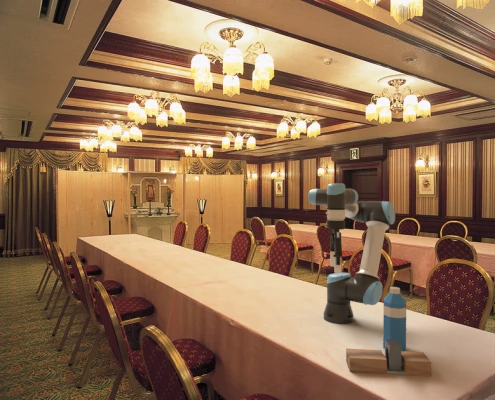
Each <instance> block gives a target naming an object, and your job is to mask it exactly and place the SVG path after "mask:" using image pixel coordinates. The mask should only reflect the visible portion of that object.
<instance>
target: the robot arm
mask: <svg viewBox="0 0 495 400" xmlns="http://www.w3.org/2000/svg"><path fill="white" fill-rule="evenodd" d="M326 187H327V188H313V189H311V190H309V192H308V196H307V200H308V202H309V203H310V205H313V206H322V207H324V208H326V210H327V211H325V214H326V219H327V220H326V228H327V229H328V230H330V235H329V236H330V243H329V251H330V253H329V255H330V256H329V257H330V258H329V260H330V261H329V266H330V267H333V269H334V271H333V272H334V273H329V274H328V276H327V277H326V278H327V280H326V296H327V297H326V304H325V308H324V310H323V319H324V320H326V321H327V322H331V323H333V324H334V323H335V324H349V323H353V322H354V320H355V315H354V312H353V308H352V306H351V302H353V303H359V304H363V305H365V306H366V305H370V306H375V305H377V304H378V303H379V302H380V300H381V298H382V295H383V288H384V287H383V283H382V282H381V281H380V280H381V279H380V277H379V276H378V273H379V266H380V262H381V256H382V252H383V251H382V250H383V245H384V240H385V234H386V231H388V230H389V229H390V225H394V224H395V222H396V211H395V207H394V205H393V203H392V202H391V201H386V200H385V201H384V200H382V201H381V200H378V201H377V200H375V201H374V200H373V201H372V200H368V201H367V200H359V193H358V192H357V190H355V189H353V188H346V185H345V183H329V184H327V186H326ZM358 200H359V201H358ZM346 218H348V219H351V220H353V221H356V222H359V223H365V225H366V227H367V230H366V236H365V242H364V246H363V251H362V256H361V260H360V261H361V262H360V265H359V266H360V267H359V271H357V272H355V274H354V276H353V277H352V275H351V273H350V272H349V273H348V272H342V257H343V249H342V248H343V246H342V232H340V230H344V229H345V228H346V221H345V219H346Z"/></svg>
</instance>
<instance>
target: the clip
mask: <svg viewBox="0 0 495 400" xmlns="http://www.w3.org/2000/svg"><path fill="white" fill-rule="evenodd" d="M384 356H385V358H386V359H387V364H388V370H389V371H396V372H401V346H400V344H399V343H398V341H397V340H395V339H385V349H384Z"/></svg>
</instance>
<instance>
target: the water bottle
mask: <svg viewBox="0 0 495 400" xmlns="http://www.w3.org/2000/svg"><path fill="white" fill-rule="evenodd" d="M382 328H383V329H382V331H383V335H382V336H383V337H382V339H383V342H382V344H383V345H382V347H383V349H384V350H385V339H395V340H397V341H398V343H399V344H400V346H401V351H407V301H406V300H405V297H404V296H403V295H402V293H401V288H400V287H397V286H389V293H387V295H386V296H385V297H384V298H383V327H382Z"/></svg>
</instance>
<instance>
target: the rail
mask: <svg viewBox="0 0 495 400" xmlns="http://www.w3.org/2000/svg"><path fill="white" fill-rule="evenodd" d="M345 350H346V351H345V357H346V358H345V362H346V365H347V368H348V370H349V372H350V373H364V374H365V373H367V374H382V375H383V374H385V375H401V376H402V375H403V376H421V377H432V375H433V374H432V372H433V371H432V366H433V365H432V363H433V362H432V361H431V359H429V357H428V356H427V355H426V354H425V353H424V352H423V351H407V350H406V351H401V372H396V371H389V370H388V364H387V359H386V358H385V353H383V350H380V349H364V348H363V349H362V348H345Z"/></svg>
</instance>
